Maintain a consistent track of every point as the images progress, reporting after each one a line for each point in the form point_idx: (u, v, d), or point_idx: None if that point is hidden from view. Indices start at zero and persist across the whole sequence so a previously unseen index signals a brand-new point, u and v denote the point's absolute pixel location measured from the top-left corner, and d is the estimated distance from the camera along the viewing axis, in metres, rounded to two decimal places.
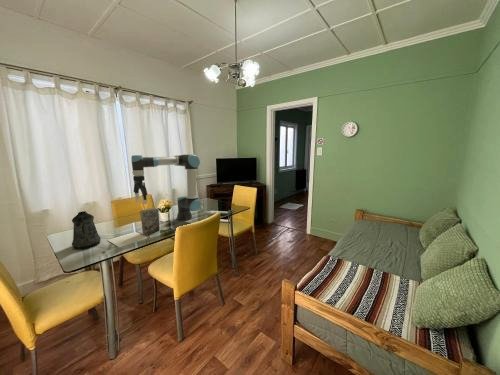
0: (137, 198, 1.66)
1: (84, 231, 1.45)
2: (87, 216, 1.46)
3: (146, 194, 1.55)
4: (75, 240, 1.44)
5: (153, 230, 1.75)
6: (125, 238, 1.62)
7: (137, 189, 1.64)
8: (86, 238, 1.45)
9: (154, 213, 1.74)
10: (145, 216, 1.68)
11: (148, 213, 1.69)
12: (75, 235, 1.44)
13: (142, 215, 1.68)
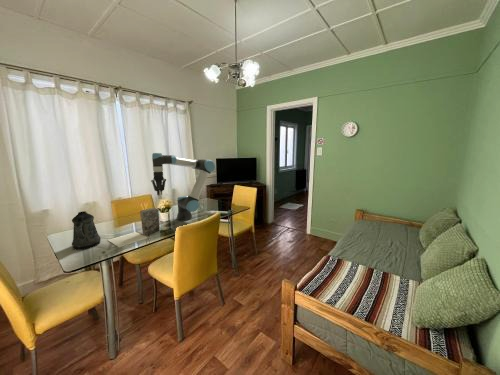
0: None
1: (84, 231, 1.45)
2: (87, 216, 1.46)
3: (155, 190, 1.75)
4: (75, 240, 1.44)
5: (153, 230, 1.75)
6: (125, 238, 1.62)
7: (159, 185, 1.78)
8: (86, 238, 1.45)
9: (154, 213, 1.74)
10: (145, 216, 1.68)
11: (148, 213, 1.69)
12: (75, 235, 1.44)
13: (142, 215, 1.68)
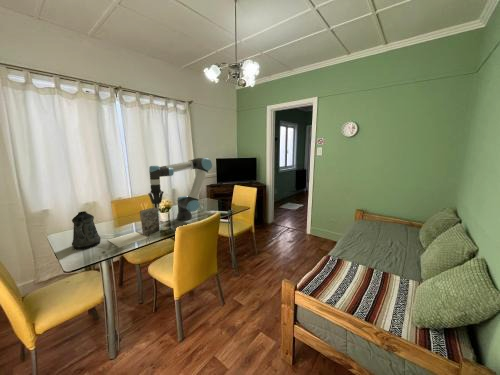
0: (156, 208, 1.78)
1: (84, 231, 1.45)
2: (87, 216, 1.46)
3: (152, 203, 1.74)
4: (75, 240, 1.44)
5: (153, 230, 1.75)
6: (125, 238, 1.62)
7: (157, 198, 1.78)
8: (86, 238, 1.45)
9: (154, 213, 1.74)
10: (145, 216, 1.68)
11: (147, 213, 1.69)
12: (75, 235, 1.44)
13: (142, 215, 1.68)
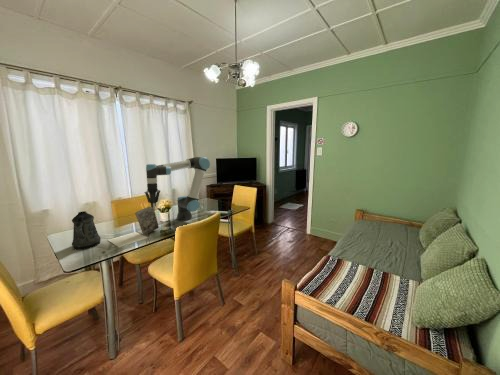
0: (153, 207, 1.76)
1: (84, 231, 1.45)
2: (87, 216, 1.46)
3: (149, 202, 1.72)
4: (75, 240, 1.44)
5: (152, 228, 1.75)
6: (125, 238, 1.62)
7: (153, 197, 1.75)
8: (86, 238, 1.45)
9: (150, 212, 1.71)
10: (141, 217, 1.65)
11: (143, 213, 1.66)
12: (75, 235, 1.44)
13: (138, 216, 1.66)
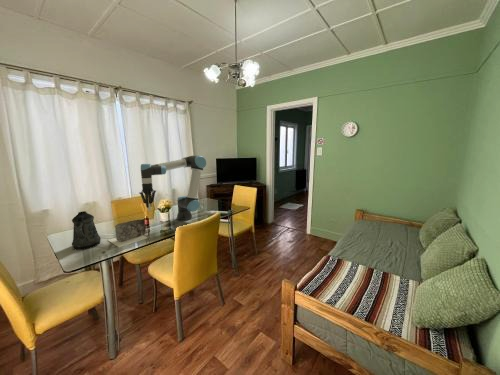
0: None
1: (84, 231, 1.45)
2: (87, 216, 1.46)
3: (144, 202, 1.69)
4: (75, 240, 1.44)
5: (142, 226, 1.68)
6: None
7: (149, 197, 1.72)
8: (86, 238, 1.45)
9: (123, 229, 1.55)
10: (125, 239, 1.57)
11: (122, 237, 1.55)
12: (75, 235, 1.44)
13: None
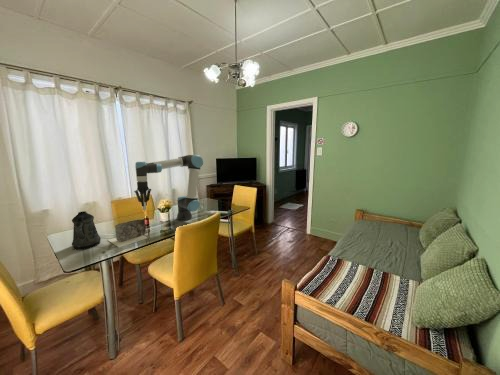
0: None
1: (84, 231, 1.45)
2: (87, 216, 1.46)
3: (139, 201, 1.65)
4: (75, 240, 1.44)
5: (143, 226, 1.68)
6: None
7: (144, 196, 1.68)
8: (86, 238, 1.45)
9: (123, 229, 1.55)
10: (125, 239, 1.57)
11: (122, 237, 1.55)
12: (75, 235, 1.44)
13: None
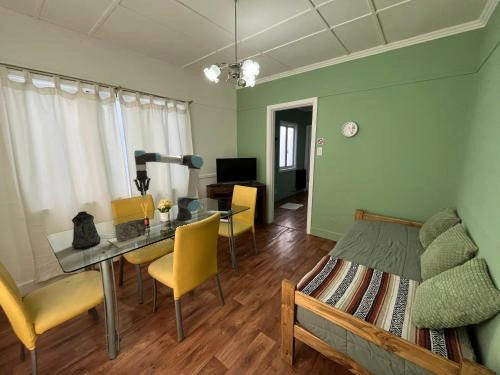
0: None
1: (84, 231, 1.45)
2: (87, 216, 1.46)
3: (138, 190, 1.64)
4: (75, 240, 1.44)
5: (143, 226, 1.68)
6: None
7: (143, 185, 1.67)
8: (86, 238, 1.45)
9: (123, 229, 1.55)
10: (125, 239, 1.57)
11: (122, 237, 1.55)
12: (75, 235, 1.44)
13: None
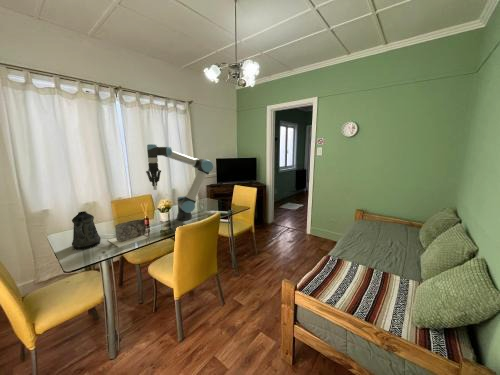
0: None
1: (84, 231, 1.45)
2: (87, 216, 1.46)
3: (150, 181, 1.78)
4: (75, 240, 1.44)
5: (143, 226, 1.68)
6: None
7: (154, 176, 1.81)
8: (86, 238, 1.45)
9: (123, 229, 1.55)
10: (125, 239, 1.57)
11: (122, 237, 1.55)
12: (75, 235, 1.44)
13: None
